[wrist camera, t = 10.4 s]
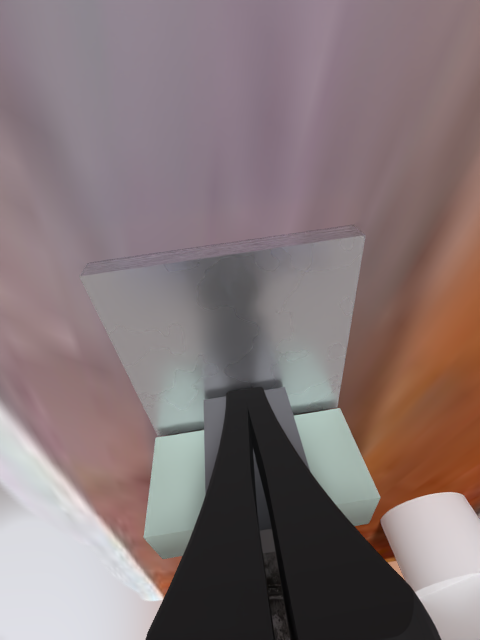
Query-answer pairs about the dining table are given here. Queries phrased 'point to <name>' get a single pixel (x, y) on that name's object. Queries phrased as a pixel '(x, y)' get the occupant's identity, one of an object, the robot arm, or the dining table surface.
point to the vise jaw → (199, 459)
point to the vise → (231, 320)
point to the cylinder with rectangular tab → (440, 559)
